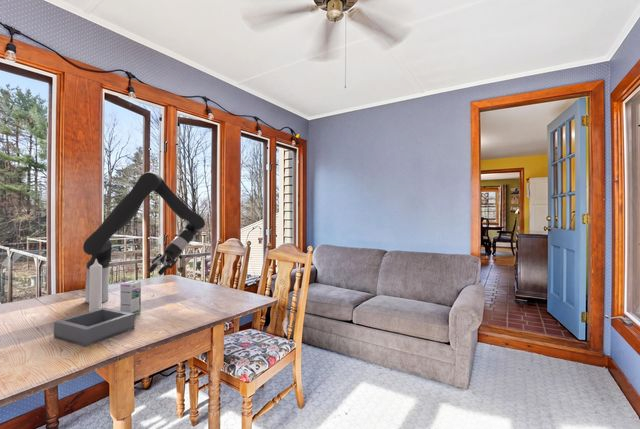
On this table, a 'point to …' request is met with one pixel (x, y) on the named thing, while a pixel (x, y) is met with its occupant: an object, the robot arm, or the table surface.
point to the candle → (95, 287)
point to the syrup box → (130, 297)
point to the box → (93, 326)
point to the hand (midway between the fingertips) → (154, 273)
